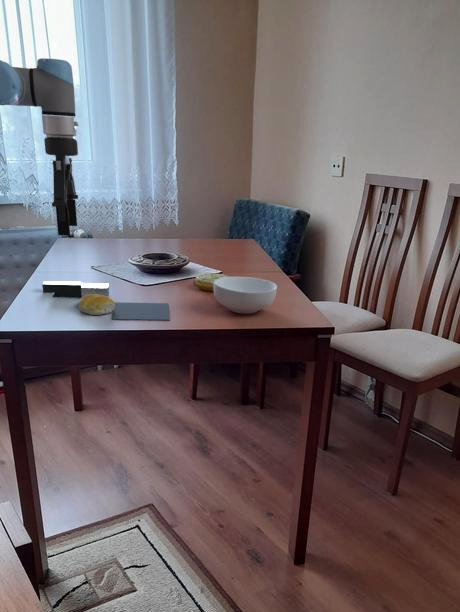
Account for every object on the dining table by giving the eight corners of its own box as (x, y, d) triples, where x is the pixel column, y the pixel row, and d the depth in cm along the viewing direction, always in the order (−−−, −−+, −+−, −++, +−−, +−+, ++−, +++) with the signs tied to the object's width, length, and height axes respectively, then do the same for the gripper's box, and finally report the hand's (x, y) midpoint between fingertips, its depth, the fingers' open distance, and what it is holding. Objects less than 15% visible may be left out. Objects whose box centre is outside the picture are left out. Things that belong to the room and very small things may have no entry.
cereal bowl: (284, 318, 143) (286, 291, 140) (222, 320, 139) (223, 292, 135) (262, 299, 157) (264, 274, 154) (205, 301, 153) (206, 275, 150)
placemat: (112, 319, 134) (112, 319, 134) (115, 303, 147) (115, 302, 147) (169, 320, 136) (169, 319, 136) (168, 303, 149) (168, 303, 149)
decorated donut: (234, 292, 162) (234, 280, 160) (197, 292, 160) (198, 279, 158) (227, 283, 171) (228, 271, 169) (193, 283, 169) (193, 270, 167)
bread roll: (98, 303, 145) (96, 288, 143) (120, 310, 140) (119, 295, 138) (71, 310, 140) (70, 294, 138) (94, 317, 135) (92, 301, 133)
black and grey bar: (43, 297, 147) (41, 284, 146) (45, 293, 151) (44, 280, 150) (108, 298, 150) (107, 286, 148) (109, 294, 154) (108, 281, 152)
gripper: (69, 139, 119) (77, 240, 129) (83, 136, 141) (88, 222, 151) (33, 137, 118) (43, 239, 128) (52, 134, 140) (60, 221, 150)
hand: (68, 230), depth 140 cm, fingers open, 13 cm apart
